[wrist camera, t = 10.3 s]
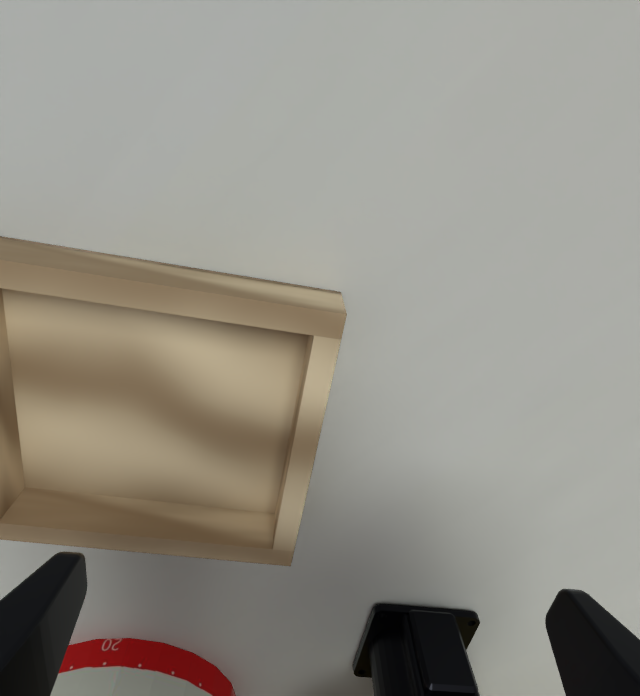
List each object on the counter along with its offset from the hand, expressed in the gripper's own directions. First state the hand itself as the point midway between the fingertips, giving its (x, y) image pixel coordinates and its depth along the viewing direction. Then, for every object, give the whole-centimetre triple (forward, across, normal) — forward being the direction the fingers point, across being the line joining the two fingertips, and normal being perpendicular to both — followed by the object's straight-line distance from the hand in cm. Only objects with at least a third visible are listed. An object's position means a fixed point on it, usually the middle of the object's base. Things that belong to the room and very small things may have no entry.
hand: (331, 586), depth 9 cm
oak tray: (+12, +6, +4) cm, 14 cm away
